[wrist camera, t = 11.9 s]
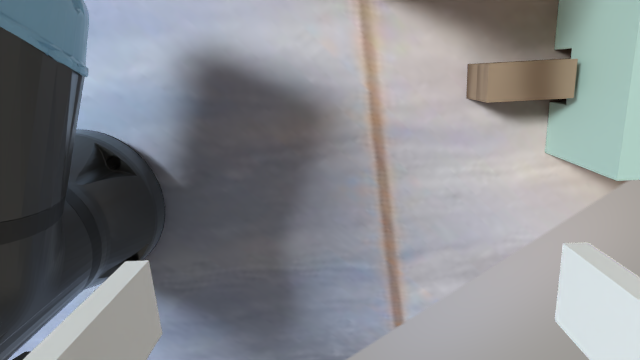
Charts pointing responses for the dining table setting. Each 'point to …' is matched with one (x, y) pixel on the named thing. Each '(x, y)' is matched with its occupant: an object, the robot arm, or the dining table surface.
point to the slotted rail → (522, 80)
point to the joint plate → (599, 88)
